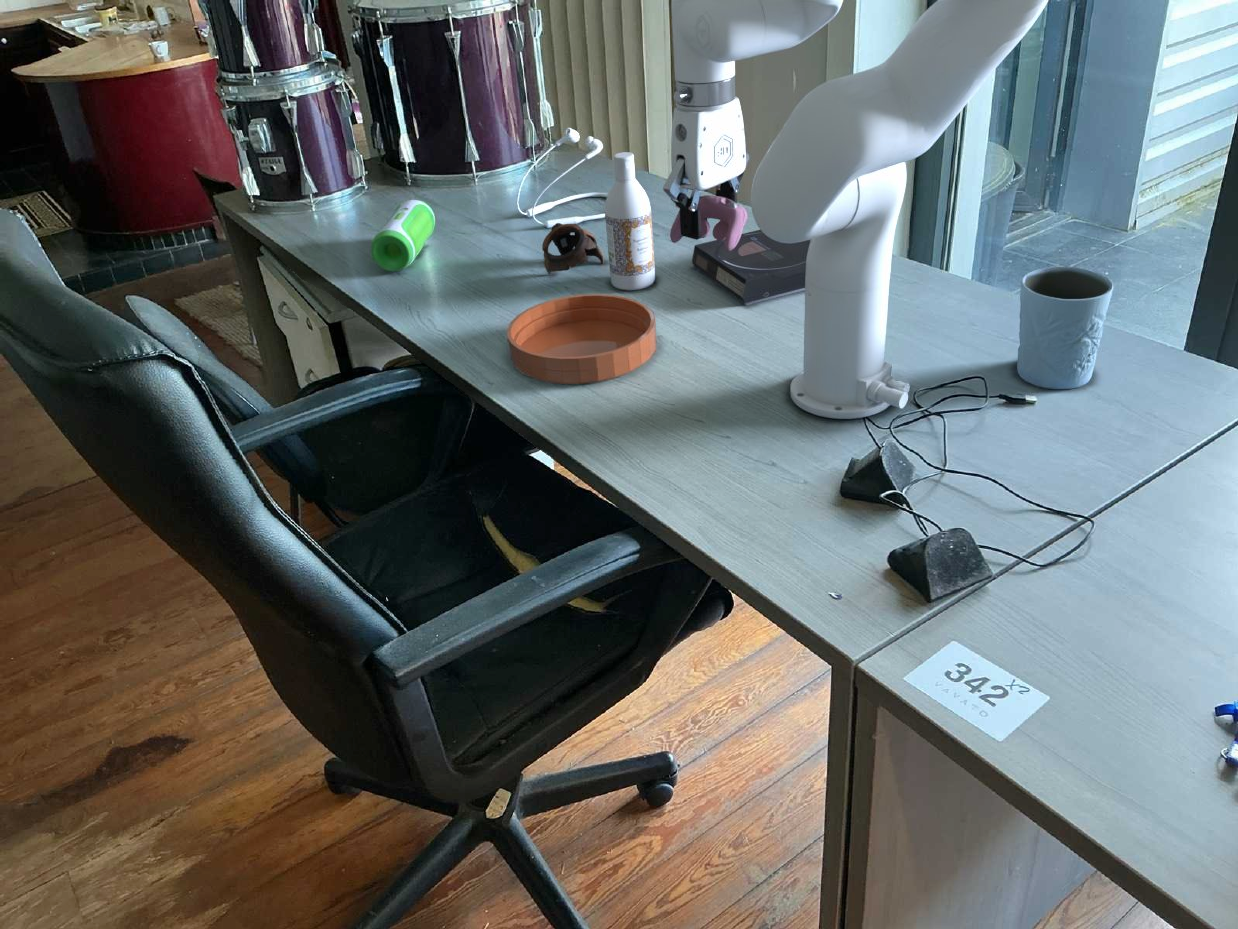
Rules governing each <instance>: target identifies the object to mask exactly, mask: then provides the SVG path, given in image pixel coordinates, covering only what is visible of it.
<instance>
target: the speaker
mask: <svg viewBox="0 0 1238 929" xmlns="http://www.w3.org/2000/svg"><path fill="white" fill-rule="evenodd" d="M435 227H436V216H435V212H434V210H433V209H432V207H431V206H430V205H429V204H428V203H426V202H425V201H423V200H420V199H409V200H406V201H404V202H402V203H400V204H399V205H398V206H397V207H396V208H395V210H394V213H392V215H391V216H390V217H389V219H388V220H387V221H386V223H385V224H384V225H383V226H382V227H381V228H380V229H379V230H378V231H377V232H376V234H375V235H374V237H373V238H372V242H371V255H372V258H373V260H374V262H375V264H377V265H378V266H379V267H380V268H382V269H383V270H385V271H388V272H400V271H402V270H404V269H406V268H408V267H409V266H411V265H412V264H413V263H414V261H415V259H417V257H418V255H419V253H420V252H421V250H422V249H423V248H424V245H425V243H426V241H427V240H428V239H429V238H430V237H431V235H432V234H433V233H434V231H435Z"/></svg>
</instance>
